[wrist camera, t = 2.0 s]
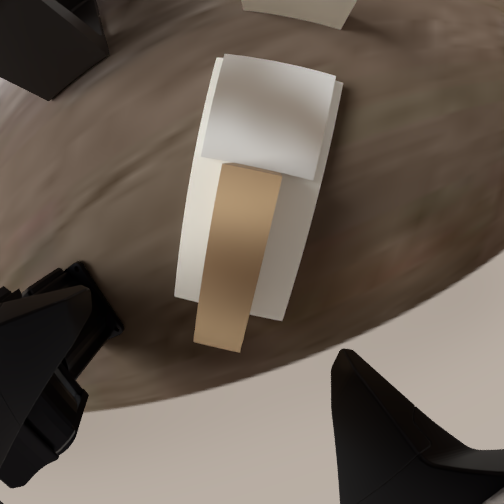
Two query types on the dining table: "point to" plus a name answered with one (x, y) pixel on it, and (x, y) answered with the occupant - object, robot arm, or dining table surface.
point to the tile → (305, 10)
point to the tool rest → (281, 231)
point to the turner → (253, 178)
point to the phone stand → (49, 43)
